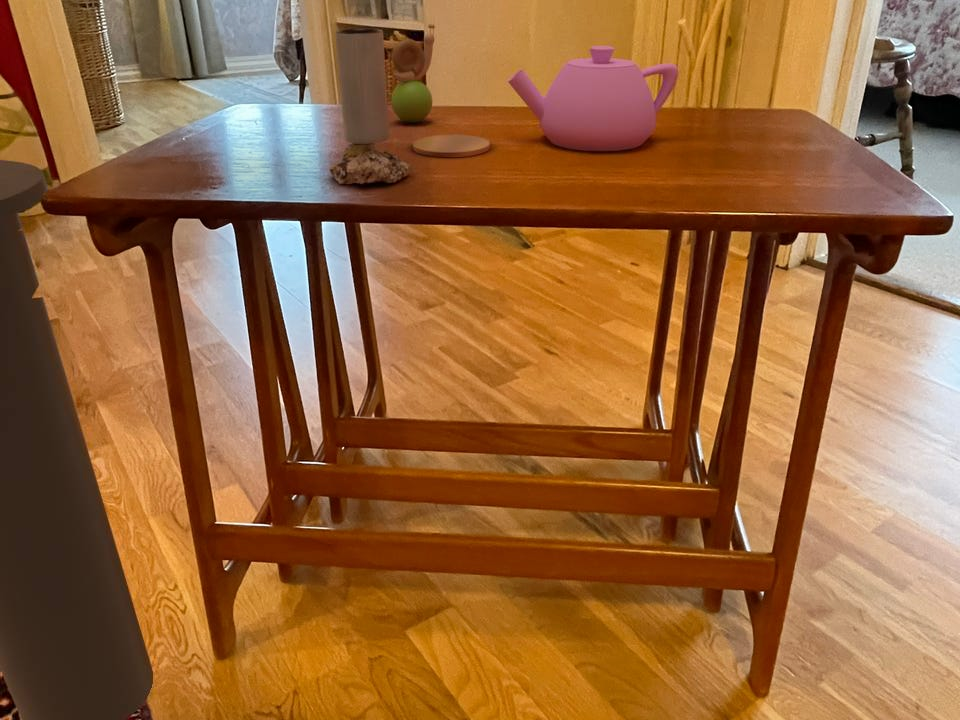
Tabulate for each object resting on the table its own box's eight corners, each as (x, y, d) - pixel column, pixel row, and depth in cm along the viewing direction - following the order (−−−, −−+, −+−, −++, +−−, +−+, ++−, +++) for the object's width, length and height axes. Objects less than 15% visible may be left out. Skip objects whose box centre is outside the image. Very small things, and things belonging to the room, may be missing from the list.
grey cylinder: (387, 144, 78) (380, 33, 73) (341, 144, 78) (332, 33, 73) (391, 134, 82) (384, 28, 77) (347, 134, 82) (338, 28, 77)
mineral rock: (421, 161, 77) (340, 143, 74) (411, 204, 79) (332, 188, 76) (402, 141, 86) (329, 125, 84) (394, 180, 88) (322, 165, 85)
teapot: (504, 129, 101) (504, 40, 96) (658, 127, 101) (667, 39, 96) (510, 154, 89) (511, 54, 84) (685, 152, 89) (697, 53, 84)
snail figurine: (446, 122, 105) (444, 25, 99) (405, 128, 102) (400, 28, 96) (425, 115, 109) (422, 22, 103) (385, 121, 106) (379, 25, 100)
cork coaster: (421, 160, 87) (421, 154, 87) (406, 142, 95) (406, 137, 94) (499, 154, 89) (499, 149, 89) (478, 137, 97) (478, 132, 97)
